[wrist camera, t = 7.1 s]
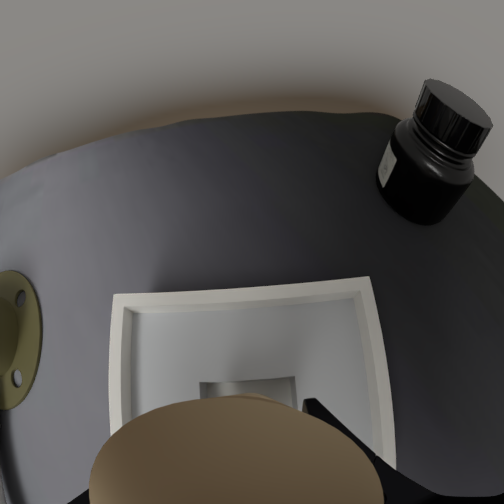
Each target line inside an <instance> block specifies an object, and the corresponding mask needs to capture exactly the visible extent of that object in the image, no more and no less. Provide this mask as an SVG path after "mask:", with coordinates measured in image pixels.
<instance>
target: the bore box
mask: <svg viewBox="0 0 504 504" xmlns="http://www.w3.org/2000/svg"><path fill="white" fill-rule="evenodd" d="M243 393H258V394H262V395H265V396H267V397H269V398H272V399H274V400H276V401H278V402H280V403H283V404H285V405H287V406H290V407H292V408H294V409H297V410H299V411H301V412H302V406H303V400H304V399H306V398H316V399H317V400H318V401H319V402H320V403H321V404H322V405H324V406H325V407H326V408H327V409H328V410H329V411H330V412H331V413H332V414H333V415H334V416H335V417H336V418H337V419H338V420H339V421H340V422H341V423H342V424H343V425H345V426H346V427H347V428H348V429H349V430H350V431H351V432H352V433H353V434H354V435H355V436H357V437H358V438H359V439H360V440H361V441H362V442H363V443H364V444H365V445H366V446H368V447H369V448H370V449H371V450H372V451H373V452H374V453H376V455H378V456H379V457H380V458H381V459H382V460H384V461H385V462H386V463H387V464H389V465H390V466H391V467H392V468H394V469H395V470H396V449H395V431H394V418H393V407H392V397H391V389H390V381H389V374H388V367H387V360H386V354H385V348H384V342H383V337H382V331H381V326H380V321H379V316H378V312H377V307H376V302H375V298H374V294H373V289H372V285H371V281H370V277H369V276H366V277H358V278H348V279H339V280H329V281H319V282H308V283H298V284H286V285H274V286H261V287H248V288H234V289H218V290H202V291H183V292H161V293H135V294H114V297H113V307H112V317H111V330H110V348H109V414H110V431H111V436H112V435H113V434H114V433H115V432H116V431H118V430H119V429H120V428H121V427H122V426H123V425H125V424H126V423H128V422H130V421H131V420H133V419H135V418H136V417H138V416H140V415H142V414H144V413H147V412H149V411H151V410H154V409H156V408H159V407H163V406H166V405H170V404H173V403H178V402H184V401H189V400H195V399H205V398H214V397H222V396H229V395H236V394H243Z"/></svg>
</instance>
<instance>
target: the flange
mask: <svg viewBox="0 0 504 504" xmlns="http://www.w3.org/2000/svg"><path fill="white" fill-rule="evenodd" d="M22 291H25V293H26V298H25V302H24V304H23V305H22V306H21V307H18V306H17V298H18V295H19V294H20V292H22ZM41 346H42V321H41V312H40V307H39V303H38V299H37V296H36V293H35V291H34V289H33V287H32V285H31V284H30V282H29V281H28V280H27V279H26V278H25V277H24V276H22V275H21V274H19V273H18V272H15V271H4V272H1V273H0V409H1V410H9V409H13V408H15V407H16V406H18V405H19V404H20V403H21V402H22V401H23V400H24V399H25V398H26V396H27V395H28V393H29V391H30V389H31V387H32V385H33V383H34V380H35V377H36V374H37V370H38V366H39V361H40V355H41ZM17 369H18V370H19V371H20V372H21V375H22V384H21V386H20V387H19V388H17V387H16V386H15V384H14V380H13V375H14V372H15V371H16V370H17Z"/></svg>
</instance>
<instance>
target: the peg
mask: <svg viewBox="0 0 504 504" xmlns="http://www.w3.org/2000/svg"><path fill="white" fill-rule="evenodd" d="M89 499H90V504H384V497H383V490H382V486H381V482H380V479H379V476H378V474H377V472H376V470H375V468H374V466H373V464H372V463H371V461H370V460H369V459H368V457H367V456H366V454H365V453H364V452H363V451H362V450H361V449H360V448H359V447H358V446H357V445H356V444H355V443H354V442H353V441H352V440H351V439H350V438H348V437H347V436H346V435H344V434H343V433H342V432H340V431H339V430H338V429H336V428H334V427H333V426H331V425H329V424H327V423H325V422H324V421H322V420H320V419H318V418H315V417H313V416H311V415H308V414H306V413H304V412H301V411H299V410H297V409H294V408H292V407H290V406H287V405H285V404H283V403H280V402H278V401H276V400H274V399H272V398H269V397H267V396H265V395H262V394H258V393H243V394H236V395H229V396H222V397H214V398H205V399H195V400H189V401H184V402H178V403H173V404H170V405H166V406H163V407H159V408H156V409H154V410H151V411H149V412H147V413H144V414H142V415H140V416H138V417H136V418H135V419H133V420H131V421H130V422H128V423H126V424H125V425H123V426H122V427H121V428H120V429H119V430H118V431H116V432H115V433H114V434H113V435H112V436H111V437H110V438H109V439H108V441H107V442H106V443H105V444H104V445H103V447H102V448H101V450H100V452H99V453H98V455H97V457H96V459H95V462H94V464H93V467H92V470H91V475H90V481H89Z"/></svg>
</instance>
